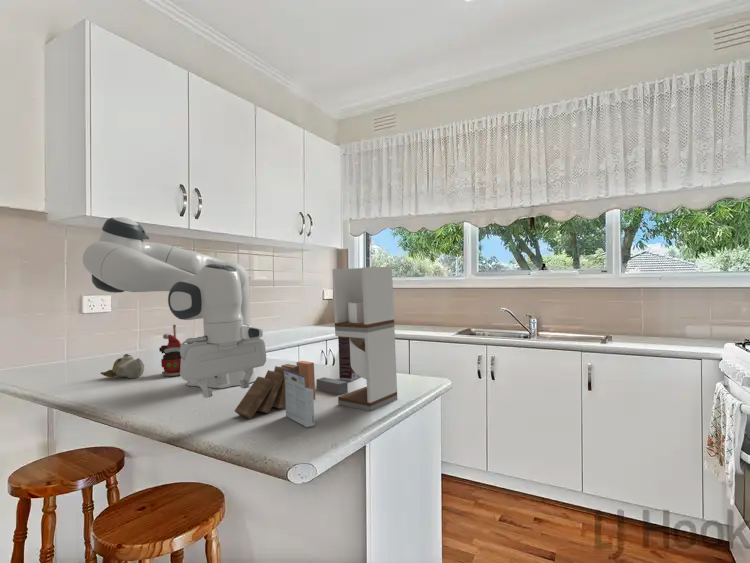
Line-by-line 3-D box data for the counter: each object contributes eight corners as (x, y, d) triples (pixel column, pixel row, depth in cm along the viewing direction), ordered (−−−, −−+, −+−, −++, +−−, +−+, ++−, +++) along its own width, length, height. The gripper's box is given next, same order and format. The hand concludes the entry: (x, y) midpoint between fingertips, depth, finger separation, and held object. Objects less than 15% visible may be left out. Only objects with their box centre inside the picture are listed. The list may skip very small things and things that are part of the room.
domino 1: (245, 414, 104) (269, 378, 109) (234, 411, 107) (258, 376, 112) (250, 419, 105) (274, 383, 110) (239, 415, 108) (263, 380, 113)
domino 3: (294, 405, 114) (292, 367, 114) (283, 402, 118) (281, 365, 118) (300, 403, 116) (298, 366, 116) (289, 400, 119) (287, 364, 119)
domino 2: (262, 411, 107) (279, 372, 111) (251, 407, 111) (267, 370, 115) (268, 413, 109) (284, 375, 112) (257, 410, 112) (273, 373, 116)
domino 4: (278, 408, 111) (286, 368, 113) (267, 404, 114) (275, 366, 116) (285, 408, 112) (292, 369, 114) (273, 405, 116) (281, 367, 118)
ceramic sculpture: (124, 356, 151) (97, 357, 157) (126, 381, 150) (99, 381, 157) (152, 351, 160) (125, 352, 167) (154, 375, 160) (127, 375, 166)
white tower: (366, 393, 123) (360, 268, 122) (397, 399, 116) (391, 266, 116) (338, 404, 114) (332, 269, 113) (370, 411, 107) (364, 267, 106)
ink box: (316, 426, 98) (313, 374, 98) (306, 428, 97) (304, 376, 97) (294, 414, 108) (291, 367, 107) (285, 416, 106) (282, 368, 106)
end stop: (339, 394, 123) (339, 384, 123) (316, 389, 130) (316, 379, 130) (347, 392, 125) (347, 381, 125) (324, 387, 132) (324, 377, 132)
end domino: (309, 401, 118) (308, 363, 118) (298, 398, 122) (296, 362, 121) (315, 399, 120) (313, 362, 119) (303, 396, 123) (302, 360, 123)
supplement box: (352, 381, 137) (349, 331, 137) (339, 380, 140) (336, 330, 139) (365, 375, 145) (363, 327, 145) (353, 374, 147) (351, 327, 147)
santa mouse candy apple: (195, 370, 165) (193, 322, 165) (188, 376, 156) (186, 325, 156) (165, 372, 164) (163, 324, 163) (156, 378, 154) (154, 327, 154)
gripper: (186, 340, 93) (189, 405, 94) (268, 328, 108) (271, 384, 109) (173, 338, 98) (176, 400, 98) (254, 327, 113) (257, 381, 113)
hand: (227, 392), depth 103 cm, fingers open, 8 cm apart
